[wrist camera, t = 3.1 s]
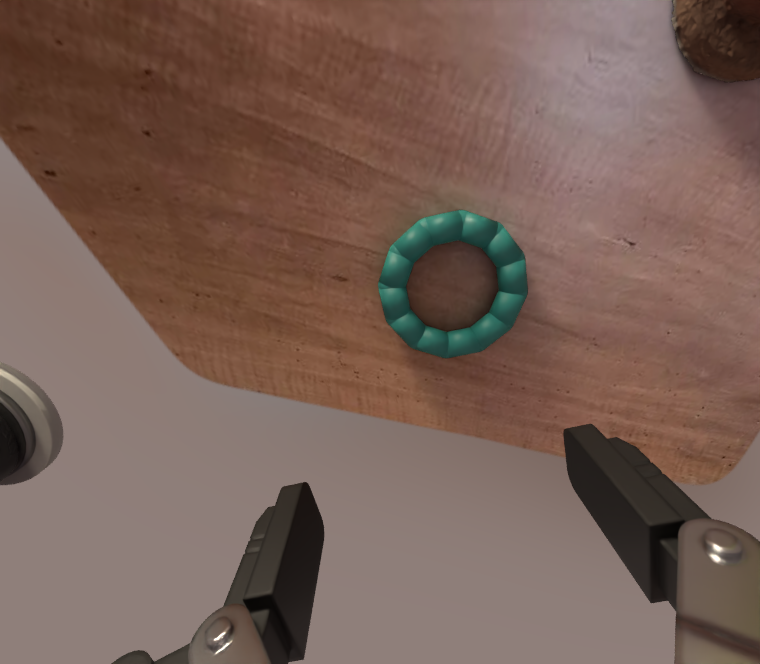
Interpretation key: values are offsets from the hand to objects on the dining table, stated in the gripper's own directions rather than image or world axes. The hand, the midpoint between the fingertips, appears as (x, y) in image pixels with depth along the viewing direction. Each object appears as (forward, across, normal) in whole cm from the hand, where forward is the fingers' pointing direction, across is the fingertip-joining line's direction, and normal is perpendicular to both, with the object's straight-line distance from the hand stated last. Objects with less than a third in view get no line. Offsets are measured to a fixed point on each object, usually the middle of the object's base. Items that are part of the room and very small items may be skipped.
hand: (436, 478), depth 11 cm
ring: (+15, -4, -2) cm, 15 cm away
